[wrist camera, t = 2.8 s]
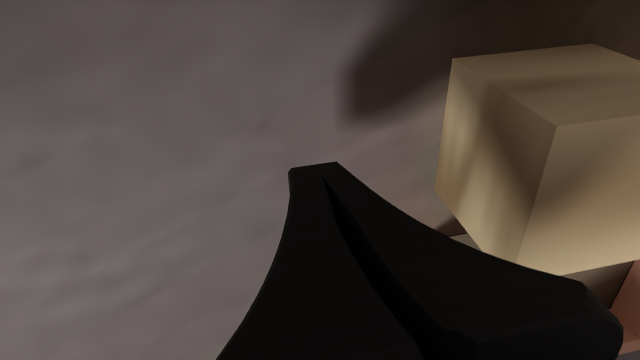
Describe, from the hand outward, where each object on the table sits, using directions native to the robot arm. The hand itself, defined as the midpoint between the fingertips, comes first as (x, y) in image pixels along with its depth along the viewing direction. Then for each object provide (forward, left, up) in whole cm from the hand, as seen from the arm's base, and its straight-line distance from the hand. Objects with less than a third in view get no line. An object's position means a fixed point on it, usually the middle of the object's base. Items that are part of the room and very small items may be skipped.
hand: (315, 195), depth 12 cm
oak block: (0, -8, -3) cm, 8 cm away
